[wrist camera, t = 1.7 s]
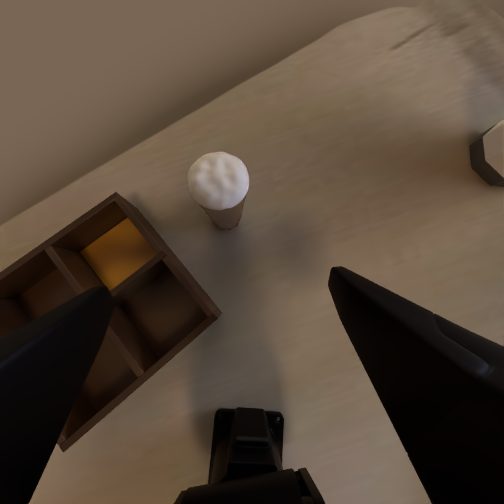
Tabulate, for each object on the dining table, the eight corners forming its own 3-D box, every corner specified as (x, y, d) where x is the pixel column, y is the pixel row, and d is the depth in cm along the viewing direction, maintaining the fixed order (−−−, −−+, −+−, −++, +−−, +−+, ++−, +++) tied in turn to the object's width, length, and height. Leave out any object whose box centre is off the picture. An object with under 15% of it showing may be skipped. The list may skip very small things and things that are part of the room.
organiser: (222, 312, 22) (217, 318, 18) (98, 420, 20) (62, 453, 16) (137, 207, 23) (115, 191, 19) (13, 297, 21) (-39, 299, 17)
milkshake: (212, 247, 23) (189, 217, 13) (202, 202, 24) (174, 140, 14) (252, 238, 23) (260, 202, 13) (241, 193, 24) (241, 129, 14)
